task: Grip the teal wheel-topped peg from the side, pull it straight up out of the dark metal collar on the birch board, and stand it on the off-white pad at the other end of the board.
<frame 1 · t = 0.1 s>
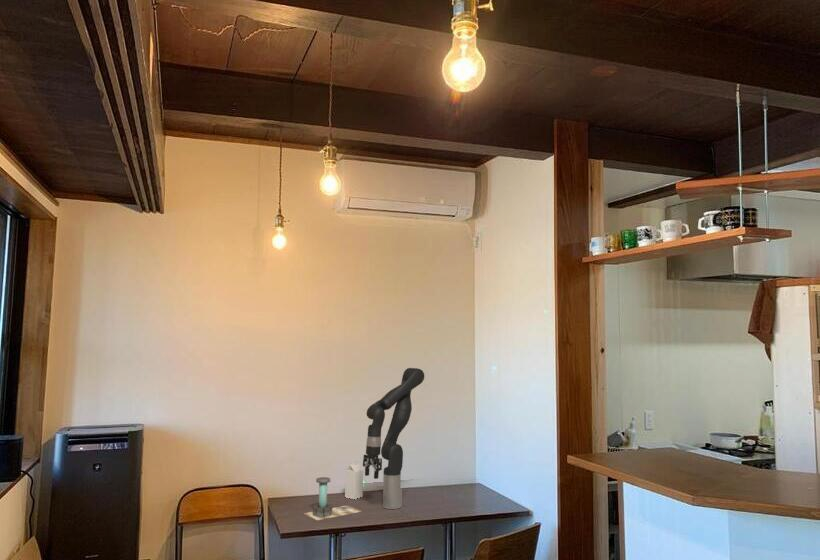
hand: (371, 477, 315), 17 cm above the table, tool pointing down, fingers open, 8 cm apart
milk carton: (353, 497, 340), on the table
wheel peg: (322, 514, 302), point 1 cm above the table, touching eye board
eye board: (332, 515, 305), on the table
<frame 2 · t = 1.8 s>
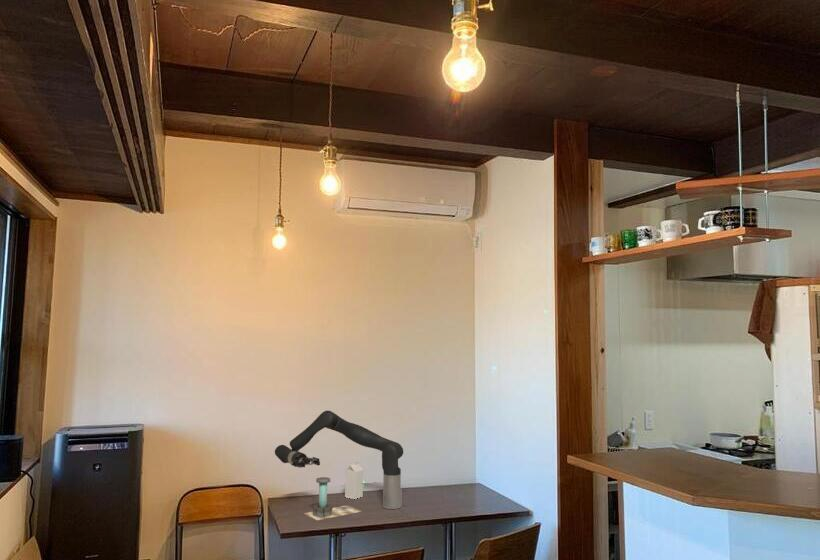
hand: (311, 464, 314), 24 cm above the table, tool horizontal, fingers open, 8 cm apart
nothing on the table moved.
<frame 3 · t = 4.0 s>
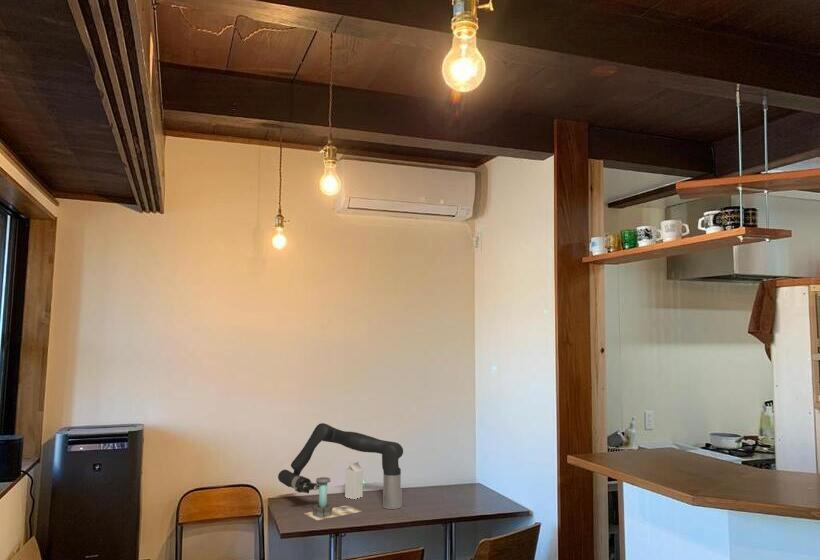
hand: (316, 490, 309), 12 cm above the table, tool horizontal, fingers open, 8 cm apart
nothing on the table moved.
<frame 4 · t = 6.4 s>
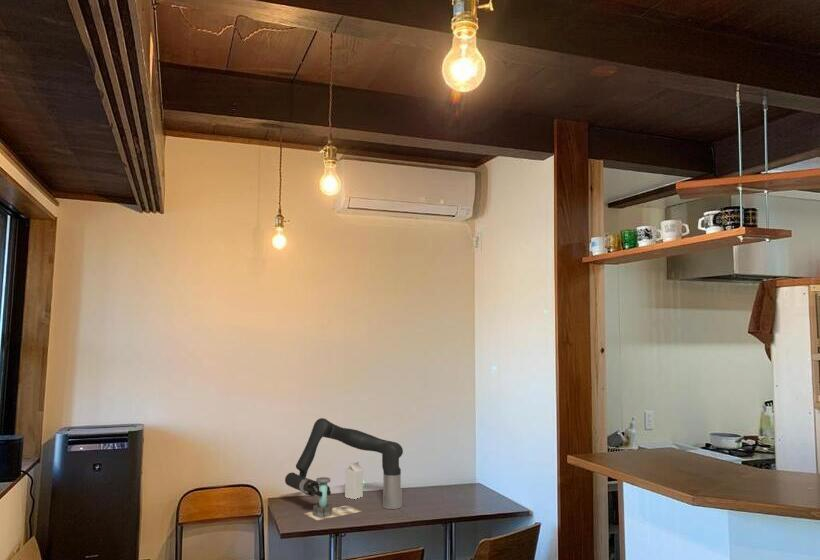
hand: (325, 493, 301), 12 cm above the table, tool horizontal, fingers closed on wheel peg, 4 cm apart
wheel peg: (322, 514, 302), point 2 cm above the table, touching eye board, gripper
everything else where it was.
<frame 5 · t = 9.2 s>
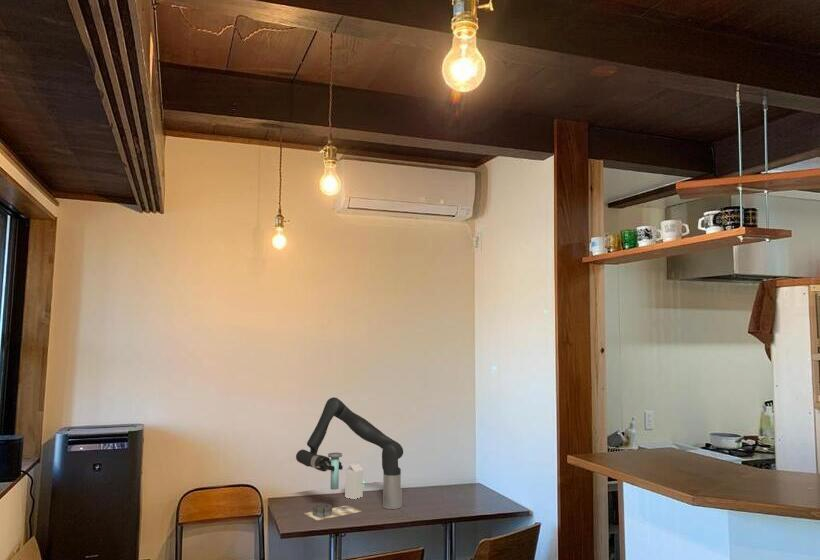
hand: (337, 468, 305), 24 cm above the table, tool horizontal, fingers closed on wheel peg, 4 cm apart
wheel peg: (334, 488, 306), point 13 cm above the table, touching gripper
everything else where it was.
when the fingers open (13 cm above the table, at t = 12.1 s): wheel peg drops 1 cm, resting on eye board.
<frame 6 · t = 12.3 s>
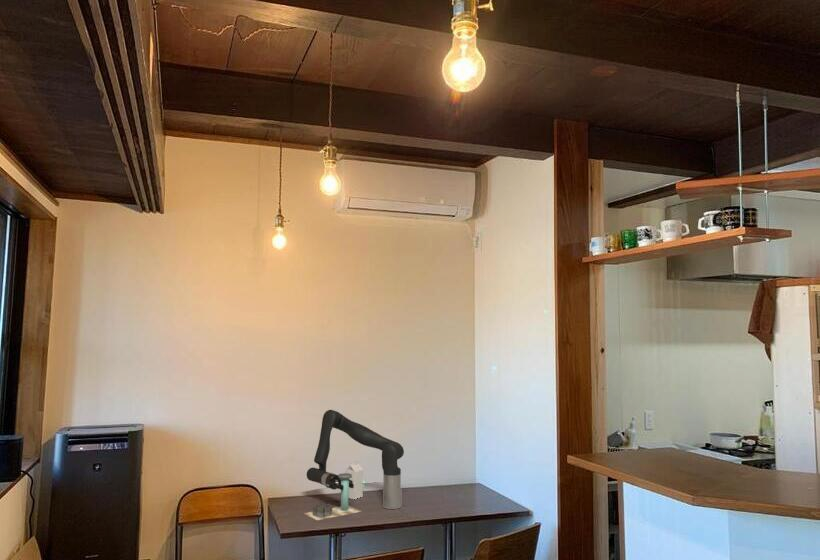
hand: (347, 486, 309), 13 cm above the table, tool horizontal, fingers open, 5 cm apart
wheel peg: (344, 509, 310), point 2 cm above the table, touching eye board
everything else where it was.
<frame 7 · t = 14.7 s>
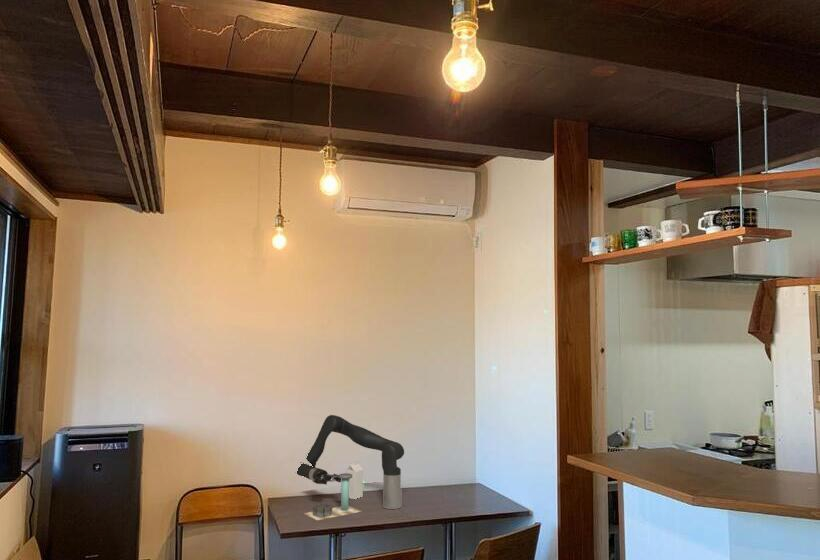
hand: (333, 481, 320), 14 cm above the table, tool horizontal, fingers open, 8 cm apart
nothing on the table moved.
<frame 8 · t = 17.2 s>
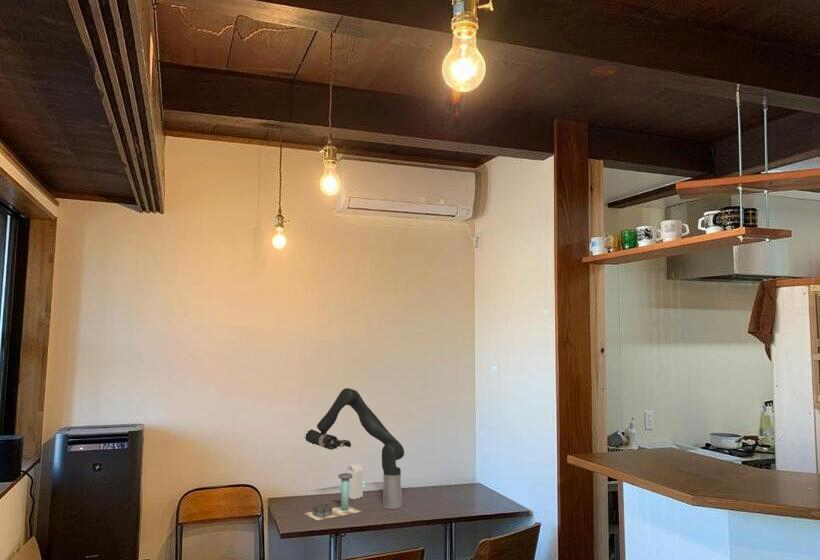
hand: (343, 445, 322), 32 cm above the table, tool horizontal, fingers open, 8 cm apart
nothing on the table moved.
at the end: wheel peg inside the target area on the eye board (0.1 cm from its centre), point 1.8 cm above the eye board's base; wheel peg tilted 0°; the gripper is holding nothing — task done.
